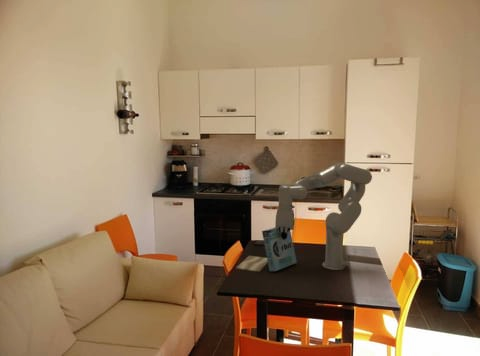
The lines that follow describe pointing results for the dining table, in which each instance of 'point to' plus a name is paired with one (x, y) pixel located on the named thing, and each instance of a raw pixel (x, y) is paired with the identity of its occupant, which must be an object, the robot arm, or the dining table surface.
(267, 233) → the gum box
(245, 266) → the board
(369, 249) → the dining table surface
